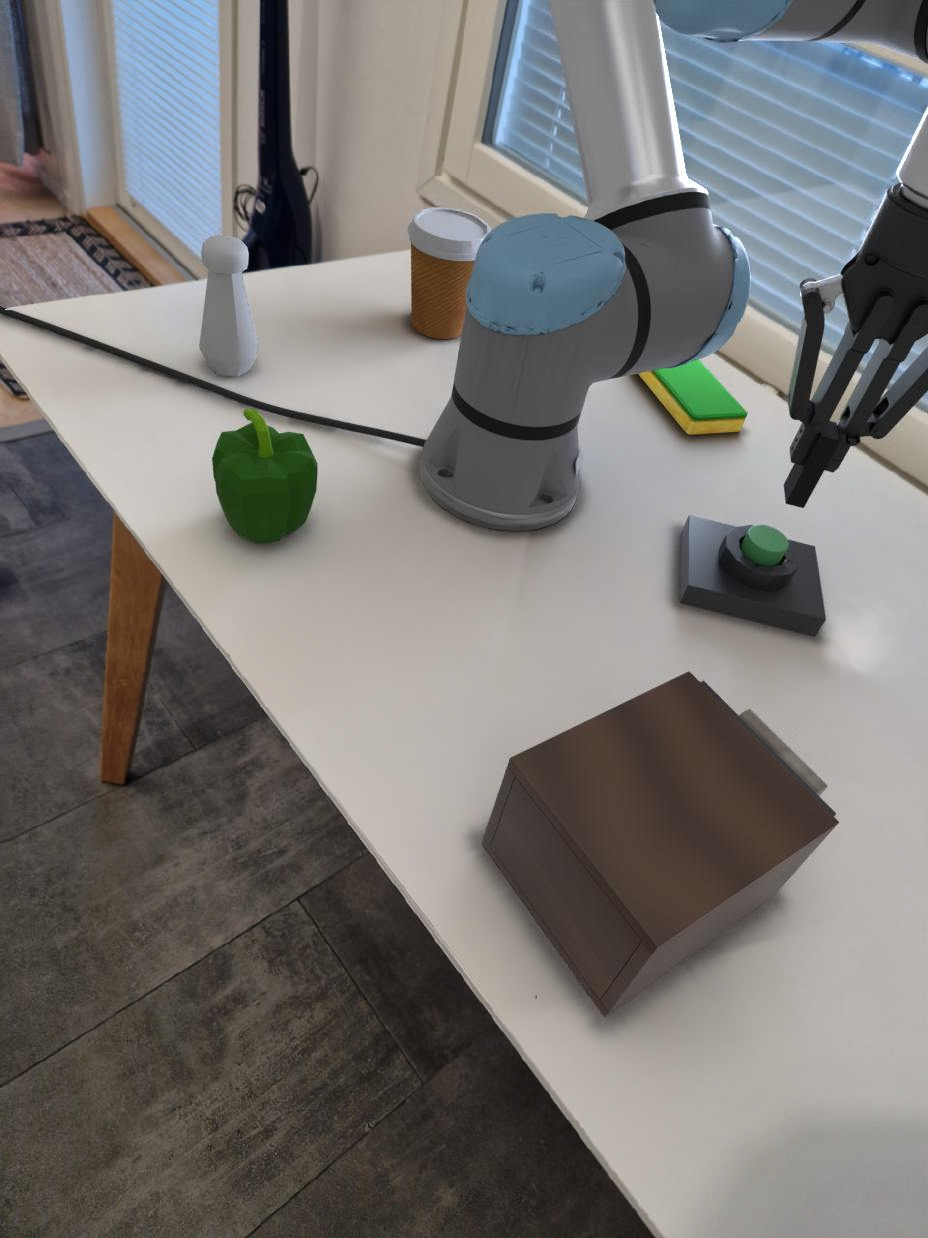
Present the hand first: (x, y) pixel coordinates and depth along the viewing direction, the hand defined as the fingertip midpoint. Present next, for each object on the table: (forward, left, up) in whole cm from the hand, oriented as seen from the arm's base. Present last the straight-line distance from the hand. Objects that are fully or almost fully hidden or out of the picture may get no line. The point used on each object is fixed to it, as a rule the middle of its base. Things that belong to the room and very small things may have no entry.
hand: (793, 496), depth 71 cm
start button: (0, 0, -7) cm, 7 cm away
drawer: (-6, -29, -9) cm, 31 cm away
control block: (0, 0, -10) cm, 10 cm away
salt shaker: (-54, +14, -10) cm, 57 cm away
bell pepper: (-42, -8, -10) cm, 44 cm away
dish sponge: (-6, +30, -10) cm, 32 cm away
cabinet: (-9, -32, -10) cm, 35 cm away
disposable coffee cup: (-36, +33, -10) cm, 50 cm away
